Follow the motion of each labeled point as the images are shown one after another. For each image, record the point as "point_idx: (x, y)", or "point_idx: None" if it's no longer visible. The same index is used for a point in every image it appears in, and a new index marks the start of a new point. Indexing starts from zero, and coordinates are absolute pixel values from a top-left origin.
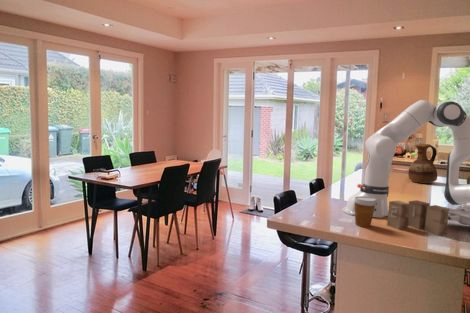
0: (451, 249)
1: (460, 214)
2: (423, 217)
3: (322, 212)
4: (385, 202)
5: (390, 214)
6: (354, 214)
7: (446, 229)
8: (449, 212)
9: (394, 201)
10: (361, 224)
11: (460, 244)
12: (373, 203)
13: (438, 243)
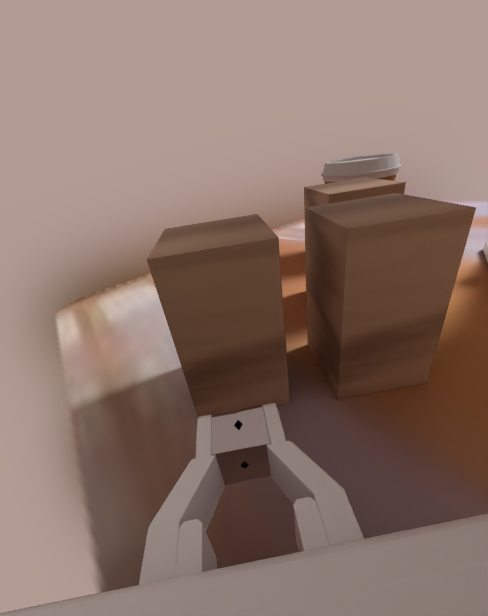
0: (100, 317)
1: (131, 592)
2: (319, 308)
3: (484, 221)
4: None
5: None
6: (484, 247)
7: (192, 396)
8: (357, 539)
9: (369, 180)
10: None
11: (85, 366)
12: (326, 173)
13: (148, 315)
